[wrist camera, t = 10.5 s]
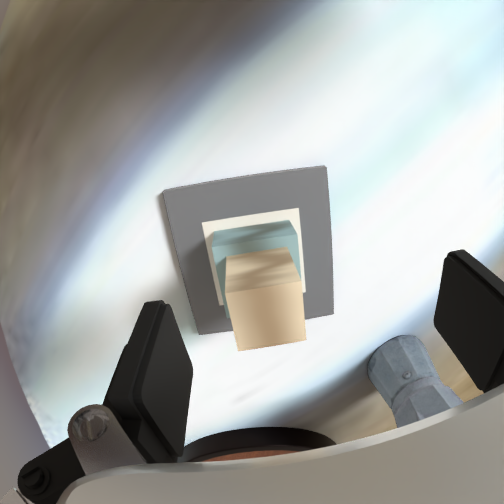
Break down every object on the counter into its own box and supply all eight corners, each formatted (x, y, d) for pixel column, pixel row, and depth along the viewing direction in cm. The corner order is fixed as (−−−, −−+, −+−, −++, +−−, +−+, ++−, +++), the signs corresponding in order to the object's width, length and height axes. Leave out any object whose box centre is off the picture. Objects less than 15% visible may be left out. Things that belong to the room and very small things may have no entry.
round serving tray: (172, 503, 49) (175, 436, 37) (173, 489, 53) (178, 415, 41) (309, 508, 53) (373, 441, 41) (307, 494, 57) (366, 423, 45)
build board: (323, 165, 28) (326, 167, 27) (331, 309, 34) (333, 314, 33) (164, 189, 28) (162, 192, 27) (199, 329, 34) (199, 335, 34)
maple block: (287, 246, 26) (301, 280, 20) (292, 298, 28) (306, 340, 22) (226, 256, 26) (224, 293, 20) (236, 307, 28) (238, 351, 22)
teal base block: (289, 219, 29) (297, 234, 25) (295, 285, 32) (303, 306, 28) (214, 231, 29) (211, 247, 25) (227, 295, 32) (226, 318, 28)
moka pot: (392, 310, 35) (476, 435, 17) (443, 353, 40) (508, 447, 21) (339, 362, 38) (389, 495, 19) (399, 394, 42) (447, 493, 24)
